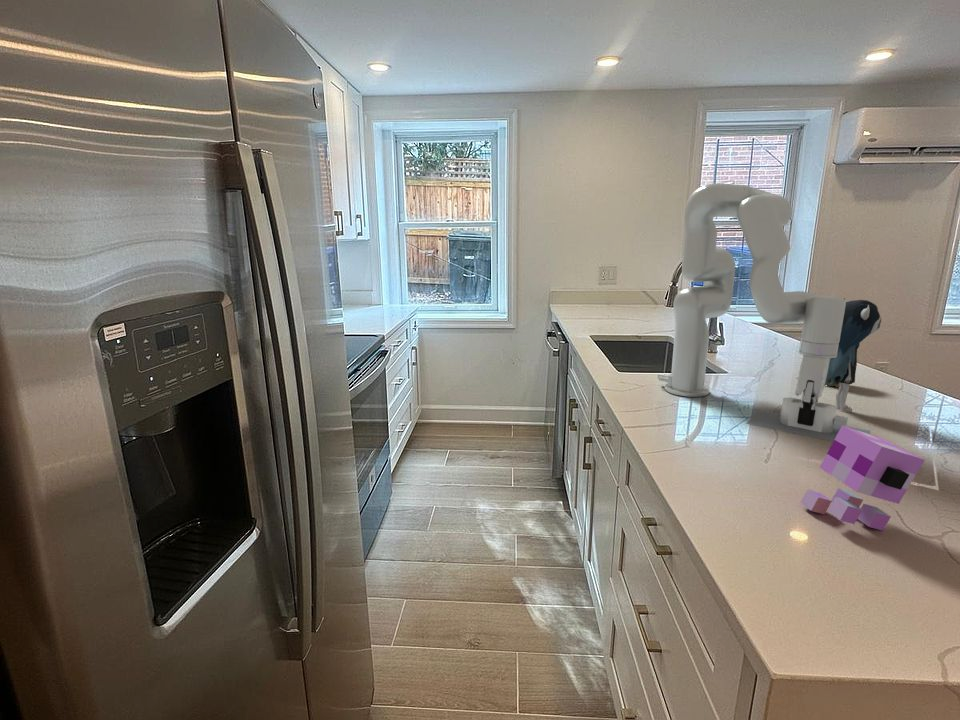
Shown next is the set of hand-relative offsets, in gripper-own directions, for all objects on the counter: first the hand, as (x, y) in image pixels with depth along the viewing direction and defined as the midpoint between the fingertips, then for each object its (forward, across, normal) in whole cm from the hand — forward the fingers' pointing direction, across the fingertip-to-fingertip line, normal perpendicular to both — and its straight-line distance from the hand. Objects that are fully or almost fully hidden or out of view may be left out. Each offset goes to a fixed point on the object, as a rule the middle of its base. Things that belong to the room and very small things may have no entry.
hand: (806, 421), depth 122 cm
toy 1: (+2, -20, +5) cm, 21 cm away
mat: (+2, 0, 0) cm, 2 cm away
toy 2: (+2, +42, +12) cm, 44 cm away
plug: (+1, 0, +1) cm, 2 cm away
